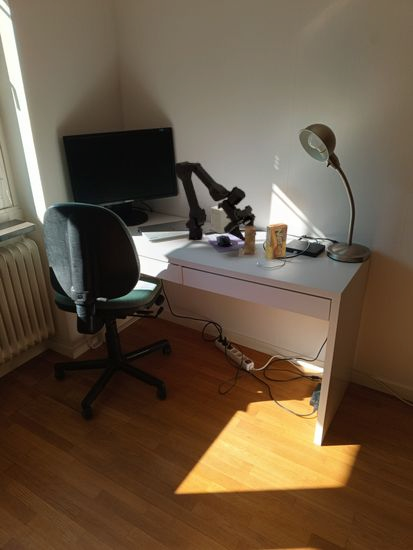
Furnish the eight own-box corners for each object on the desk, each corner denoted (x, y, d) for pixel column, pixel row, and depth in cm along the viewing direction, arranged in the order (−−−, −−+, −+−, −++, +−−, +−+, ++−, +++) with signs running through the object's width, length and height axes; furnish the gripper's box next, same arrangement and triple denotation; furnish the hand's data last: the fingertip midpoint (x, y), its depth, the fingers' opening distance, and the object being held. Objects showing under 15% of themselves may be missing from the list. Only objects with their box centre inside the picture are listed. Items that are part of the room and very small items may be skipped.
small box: (229, 231, 226) (229, 208, 220) (220, 234, 222) (220, 210, 217) (219, 227, 232) (219, 205, 226) (210, 230, 228) (210, 207, 222)
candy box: (280, 253, 197) (282, 222, 191) (285, 256, 194) (288, 225, 187) (264, 256, 194) (266, 225, 187) (269, 259, 190) (271, 227, 184)
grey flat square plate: (238, 257, 194) (238, 256, 193) (238, 249, 203) (238, 248, 202) (260, 257, 193) (260, 257, 192) (259, 249, 202) (259, 249, 201)
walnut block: (243, 254, 195) (244, 229, 190) (244, 250, 200) (244, 225, 195) (254, 254, 195) (255, 229, 190) (254, 250, 199) (255, 226, 194)
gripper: (229, 205, 184) (249, 234, 182) (252, 196, 197) (271, 223, 195) (215, 219, 192) (234, 246, 190) (239, 210, 205) (257, 235, 203)
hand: (250, 237), depth 194 cm, fingers open, 9 cm apart
